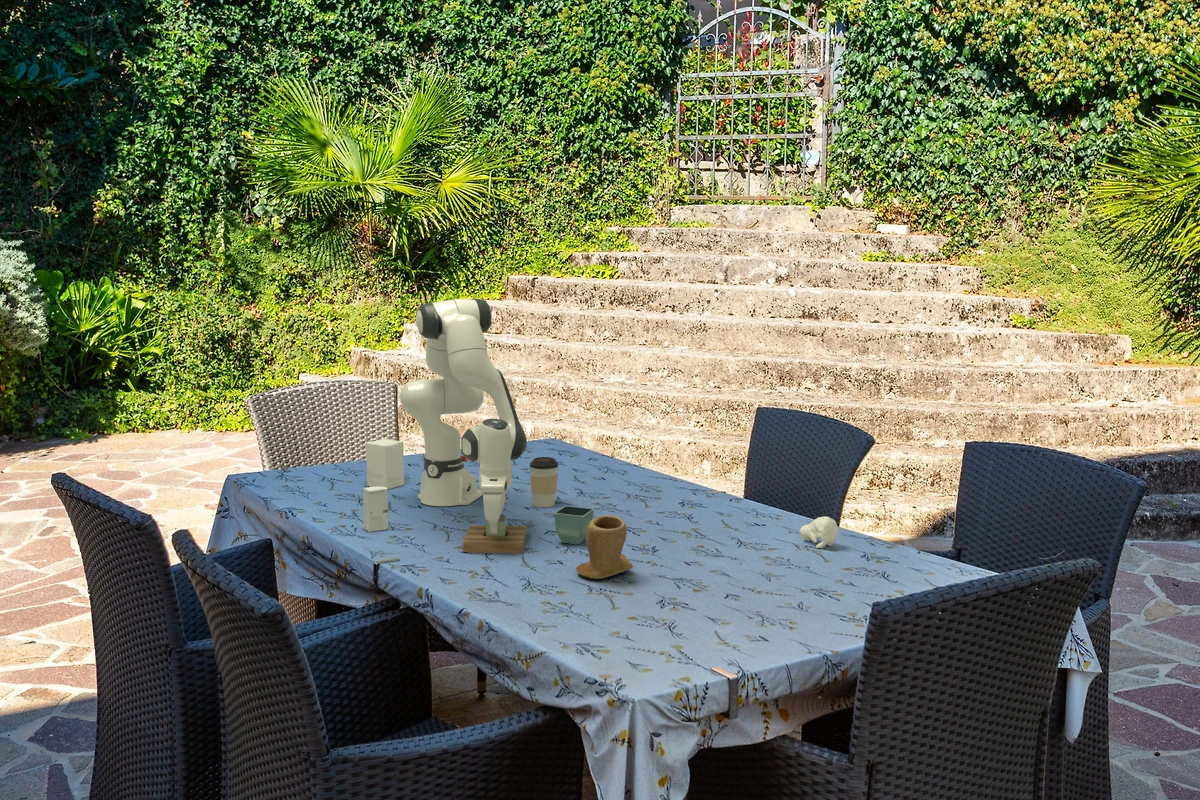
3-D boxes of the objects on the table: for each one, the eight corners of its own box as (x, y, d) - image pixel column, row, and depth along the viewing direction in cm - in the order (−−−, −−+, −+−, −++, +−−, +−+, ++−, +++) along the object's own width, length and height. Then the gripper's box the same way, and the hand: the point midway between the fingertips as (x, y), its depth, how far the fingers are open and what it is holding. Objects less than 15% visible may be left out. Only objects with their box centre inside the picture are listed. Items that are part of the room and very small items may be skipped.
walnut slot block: (470, 535, 308) (470, 525, 307) (526, 536, 308) (526, 525, 307) (463, 552, 292) (463, 541, 291) (522, 553, 292) (522, 542, 291)
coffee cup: (524, 506, 339) (524, 459, 337) (536, 499, 347) (537, 453, 345) (550, 509, 336) (551, 462, 333) (562, 502, 344) (563, 456, 342)
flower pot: (594, 539, 306) (594, 508, 304) (583, 547, 297) (583, 516, 296) (564, 535, 309) (564, 505, 307) (553, 544, 300) (553, 512, 299)
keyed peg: (487, 542, 302) (487, 514, 300) (505, 542, 302) (505, 514, 300) (486, 546, 298) (485, 517, 297) (504, 546, 298) (504, 517, 297)
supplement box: (405, 485, 364) (404, 441, 362) (386, 490, 357) (385, 445, 354) (385, 481, 369) (384, 438, 367) (366, 486, 362) (365, 442, 359)
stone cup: (601, 586, 266) (601, 527, 264) (569, 574, 275) (569, 517, 273) (645, 573, 277) (646, 516, 274) (613, 562, 285) (614, 507, 283)
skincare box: (368, 532, 309) (367, 491, 307) (363, 528, 313) (362, 487, 311) (389, 529, 313) (388, 488, 311) (383, 525, 316) (382, 485, 314)
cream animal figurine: (823, 520, 296) (793, 514, 306) (824, 551, 296) (793, 544, 306) (840, 516, 299) (809, 511, 309) (841, 547, 300) (810, 540, 310)
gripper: (487, 470, 307) (488, 517, 309) (479, 487, 287) (480, 538, 289) (510, 470, 307) (510, 517, 309) (503, 488, 287) (503, 538, 289)
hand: (495, 528), depth 299 cm, fingers open, 8 cm apart
